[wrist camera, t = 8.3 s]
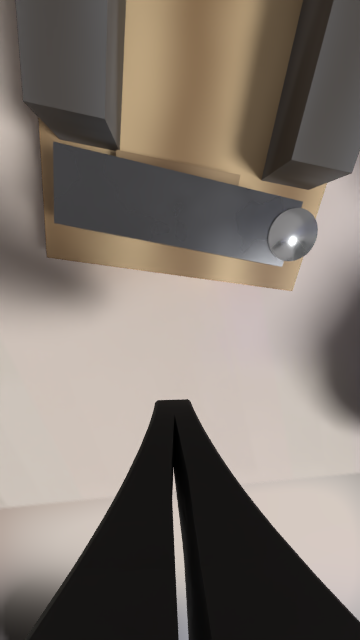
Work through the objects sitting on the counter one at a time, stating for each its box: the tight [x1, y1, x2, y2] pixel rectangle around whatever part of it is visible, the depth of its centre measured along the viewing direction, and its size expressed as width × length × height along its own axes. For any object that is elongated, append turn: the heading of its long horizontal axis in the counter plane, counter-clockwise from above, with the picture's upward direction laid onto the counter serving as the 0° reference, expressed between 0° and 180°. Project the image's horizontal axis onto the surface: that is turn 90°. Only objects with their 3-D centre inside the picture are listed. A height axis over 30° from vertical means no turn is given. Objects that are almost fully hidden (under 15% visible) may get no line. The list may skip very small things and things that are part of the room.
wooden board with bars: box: [15, 0, 360, 291], centre depth 10 cm, size 16×20×6 cm
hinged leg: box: [53, 141, 318, 267], centre depth 11 cm, size 12×3×3 cm, turn 80°
